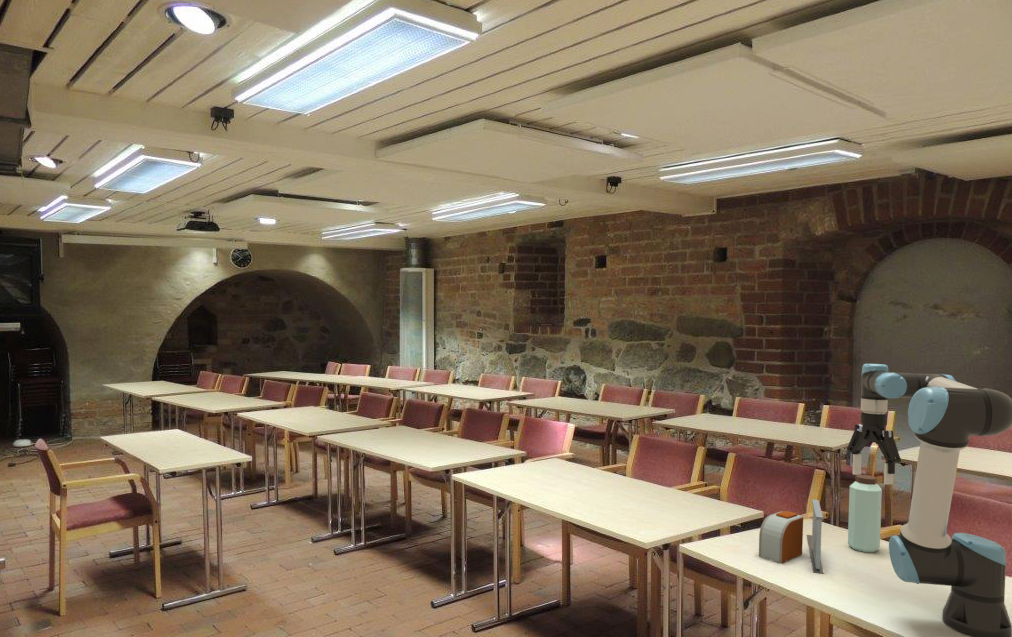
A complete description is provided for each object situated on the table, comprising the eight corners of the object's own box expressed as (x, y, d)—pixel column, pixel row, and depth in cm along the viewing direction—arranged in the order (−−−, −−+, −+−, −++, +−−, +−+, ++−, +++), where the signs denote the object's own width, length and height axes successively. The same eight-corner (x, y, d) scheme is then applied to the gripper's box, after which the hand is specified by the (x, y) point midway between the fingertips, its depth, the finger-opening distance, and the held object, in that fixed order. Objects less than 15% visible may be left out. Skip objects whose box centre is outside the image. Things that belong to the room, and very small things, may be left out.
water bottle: (841, 545, 246) (843, 474, 245) (860, 542, 250) (863, 472, 249) (866, 555, 236) (868, 481, 236) (886, 551, 241) (888, 479, 240)
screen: (821, 569, 220) (823, 517, 220) (814, 568, 221) (816, 516, 221) (816, 547, 241) (818, 500, 241) (810, 546, 242) (812, 499, 241)
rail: (823, 573, 218) (823, 573, 218) (813, 572, 219) (813, 571, 219) (815, 536, 255) (815, 535, 255) (806, 535, 256) (806, 534, 256)
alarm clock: (780, 547, 243) (782, 508, 242) (804, 554, 236) (805, 514, 236) (757, 555, 233) (758, 515, 233) (781, 563, 227) (782, 521, 226)
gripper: (915, 417, 212) (913, 488, 212) (855, 407, 236) (854, 470, 236) (894, 418, 210) (892, 488, 210) (836, 407, 234) (835, 470, 234)
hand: (872, 479), depth 223 cm, fingers open, 13 cm apart
